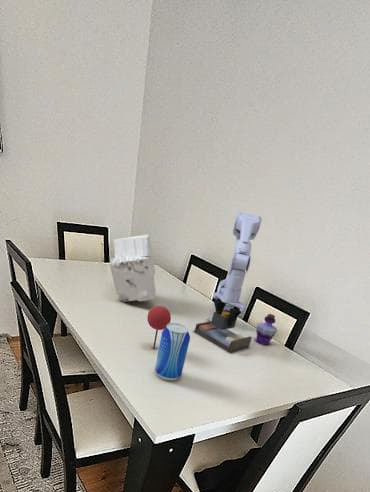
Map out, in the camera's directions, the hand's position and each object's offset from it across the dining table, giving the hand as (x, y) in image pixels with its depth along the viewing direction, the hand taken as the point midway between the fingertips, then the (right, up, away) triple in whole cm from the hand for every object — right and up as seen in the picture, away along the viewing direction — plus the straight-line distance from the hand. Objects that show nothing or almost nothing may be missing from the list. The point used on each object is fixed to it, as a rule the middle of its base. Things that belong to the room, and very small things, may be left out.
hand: (223, 322), depth 148 cm
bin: (0, -1, +1) cm, 1 cm away
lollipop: (-26, -12, -15) cm, 32 cm away
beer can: (-20, -22, -28) cm, 42 cm away
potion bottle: (+17, -6, +11) cm, 21 cm away
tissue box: (-39, +15, +22) cm, 47 cm away
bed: (0, -6, +4) cm, 7 cm away
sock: (0, -1, 0) cm, 1 cm away
